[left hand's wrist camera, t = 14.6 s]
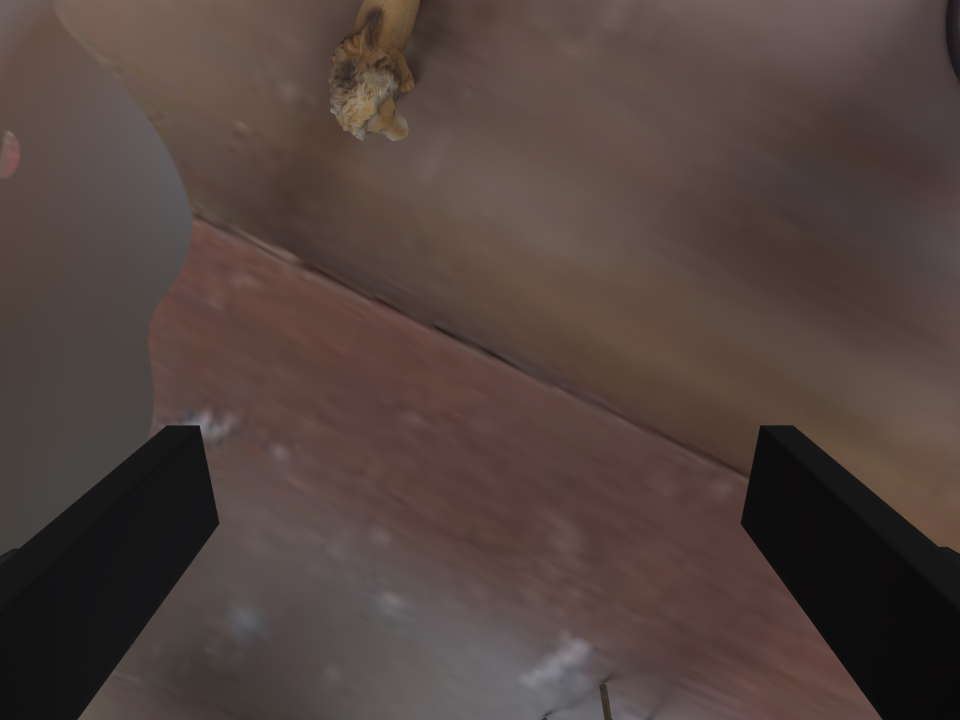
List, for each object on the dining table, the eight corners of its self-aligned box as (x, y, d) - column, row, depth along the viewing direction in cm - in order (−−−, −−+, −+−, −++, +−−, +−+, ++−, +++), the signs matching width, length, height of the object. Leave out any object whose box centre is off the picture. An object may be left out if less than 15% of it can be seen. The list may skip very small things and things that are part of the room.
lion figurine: (415, 156, 38) (396, 153, 29) (341, 131, 37) (300, 121, 29) (479, -88, 33) (478, -175, 24) (395, -121, 32) (365, -221, 24)
